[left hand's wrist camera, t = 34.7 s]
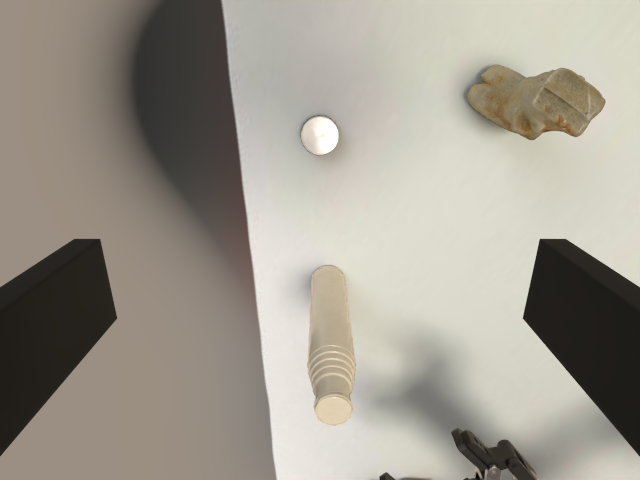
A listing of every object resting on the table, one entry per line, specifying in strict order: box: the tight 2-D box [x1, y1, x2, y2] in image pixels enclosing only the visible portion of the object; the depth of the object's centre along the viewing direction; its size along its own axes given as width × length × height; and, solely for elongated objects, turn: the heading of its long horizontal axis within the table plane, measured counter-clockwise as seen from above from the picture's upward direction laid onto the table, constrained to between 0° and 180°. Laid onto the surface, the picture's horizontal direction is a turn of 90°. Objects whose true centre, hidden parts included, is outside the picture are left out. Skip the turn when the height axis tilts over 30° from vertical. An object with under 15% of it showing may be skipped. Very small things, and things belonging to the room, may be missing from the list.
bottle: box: [308, 266, 356, 425], centre depth 42 cm, size 4×4×22 cm
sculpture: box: [467, 65, 605, 140], centre depth 37 cm, size 6×7×15 cm
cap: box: [301, 115, 339, 155], centre depth 44 cm, size 4×4×2 cm
